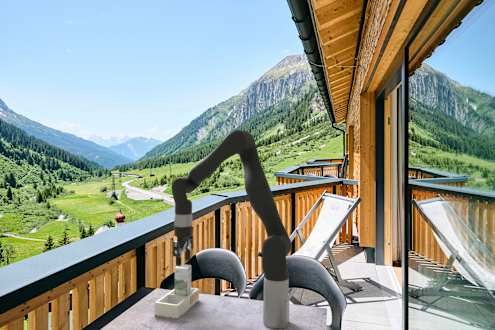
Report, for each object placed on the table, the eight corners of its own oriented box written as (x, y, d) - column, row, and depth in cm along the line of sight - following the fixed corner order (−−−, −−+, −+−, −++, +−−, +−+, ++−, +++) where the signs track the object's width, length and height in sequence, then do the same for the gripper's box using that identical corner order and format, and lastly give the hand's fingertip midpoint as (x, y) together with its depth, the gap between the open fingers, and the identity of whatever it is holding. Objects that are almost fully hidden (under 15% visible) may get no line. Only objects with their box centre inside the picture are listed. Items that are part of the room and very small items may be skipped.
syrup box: (191, 298, 154) (191, 264, 154) (187, 303, 149) (187, 268, 148) (178, 297, 155) (178, 263, 155) (173, 302, 149) (174, 267, 149)
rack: (199, 300, 155) (199, 288, 155) (178, 319, 137) (178, 306, 137) (177, 297, 158) (177, 285, 158) (154, 315, 140) (154, 302, 140)
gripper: (183, 228, 144) (183, 268, 144) (198, 222, 157) (198, 259, 157) (167, 227, 146) (166, 267, 146) (183, 221, 159) (183, 257, 160)
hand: (183, 263), depth 152 cm, fingers open, 8 cm apart
